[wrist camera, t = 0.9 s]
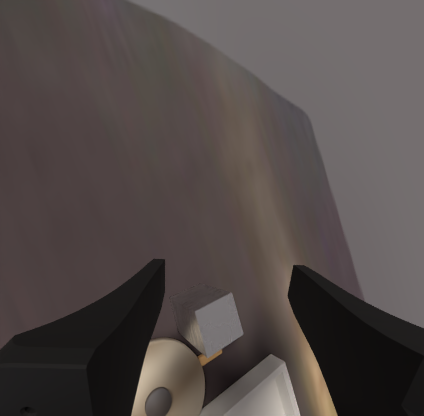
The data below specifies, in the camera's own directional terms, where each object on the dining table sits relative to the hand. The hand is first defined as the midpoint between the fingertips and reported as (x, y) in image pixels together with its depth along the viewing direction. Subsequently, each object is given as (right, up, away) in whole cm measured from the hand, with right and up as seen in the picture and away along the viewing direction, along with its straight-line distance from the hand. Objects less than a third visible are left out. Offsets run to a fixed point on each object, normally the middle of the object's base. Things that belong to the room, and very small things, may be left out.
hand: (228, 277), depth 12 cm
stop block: (-4, -8, +13) cm, 16 cm away
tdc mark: (-1, -13, +13) cm, 19 cm away
